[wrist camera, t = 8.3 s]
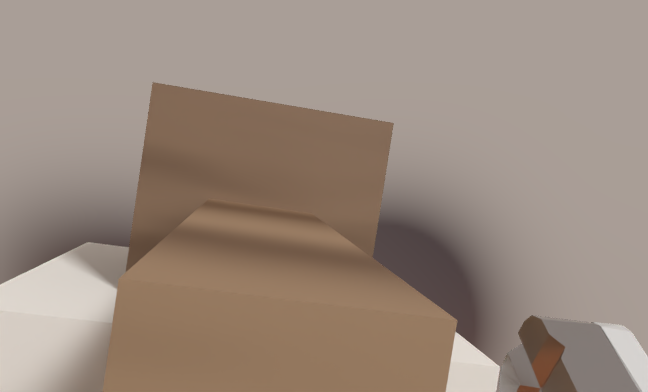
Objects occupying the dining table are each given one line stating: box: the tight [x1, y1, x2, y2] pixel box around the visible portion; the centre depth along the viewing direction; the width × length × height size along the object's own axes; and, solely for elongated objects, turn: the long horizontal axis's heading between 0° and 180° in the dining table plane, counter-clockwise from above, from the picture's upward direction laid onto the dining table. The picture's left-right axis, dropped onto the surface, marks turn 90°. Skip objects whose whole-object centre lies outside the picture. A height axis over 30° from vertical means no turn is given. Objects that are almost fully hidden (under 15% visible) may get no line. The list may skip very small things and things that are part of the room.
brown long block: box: [103, 83, 457, 392], centre depth 15 cm, size 19×7×6 cm, turn 8°
